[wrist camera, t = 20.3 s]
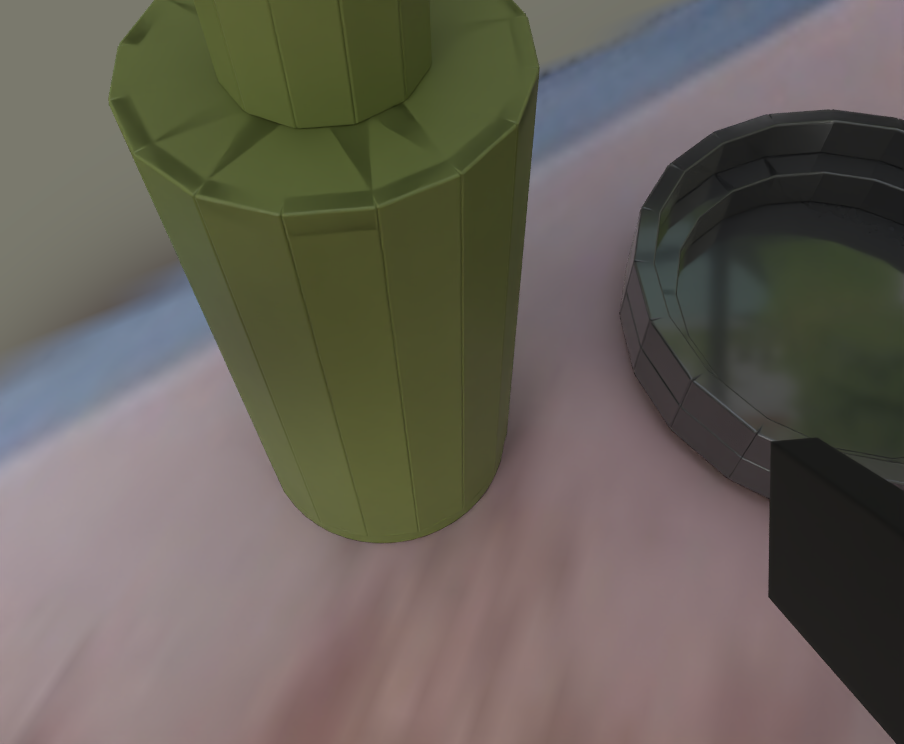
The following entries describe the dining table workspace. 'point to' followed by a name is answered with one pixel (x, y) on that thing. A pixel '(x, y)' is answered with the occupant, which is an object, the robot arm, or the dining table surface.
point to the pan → (776, 292)
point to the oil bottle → (348, 231)
